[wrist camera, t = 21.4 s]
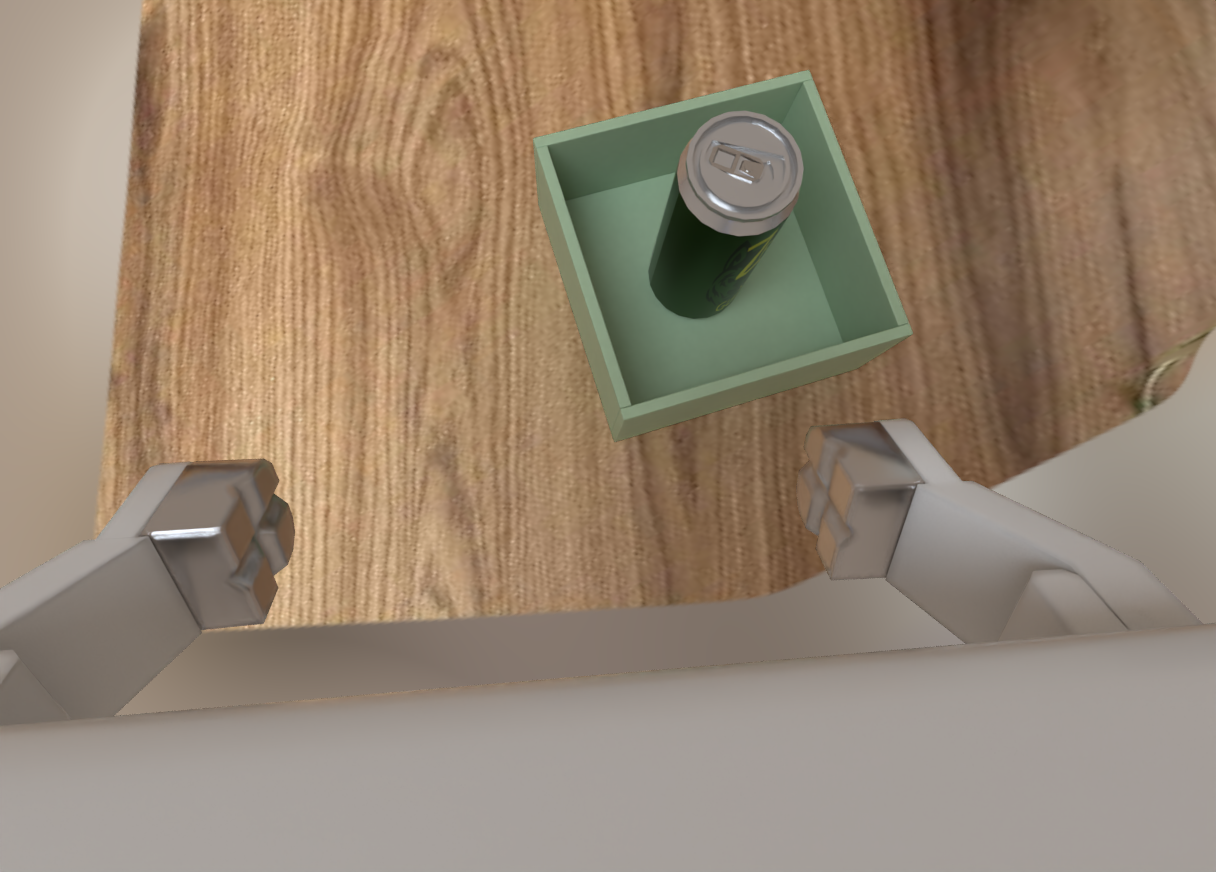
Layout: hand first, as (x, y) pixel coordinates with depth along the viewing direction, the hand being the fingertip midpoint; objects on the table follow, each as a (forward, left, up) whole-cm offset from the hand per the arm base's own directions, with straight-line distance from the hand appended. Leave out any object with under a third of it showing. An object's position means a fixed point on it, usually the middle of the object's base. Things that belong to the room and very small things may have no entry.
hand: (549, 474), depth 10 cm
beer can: (+12, -11, -27) cm, 31 cm away
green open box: (+11, -12, -27) cm, 32 cm away
